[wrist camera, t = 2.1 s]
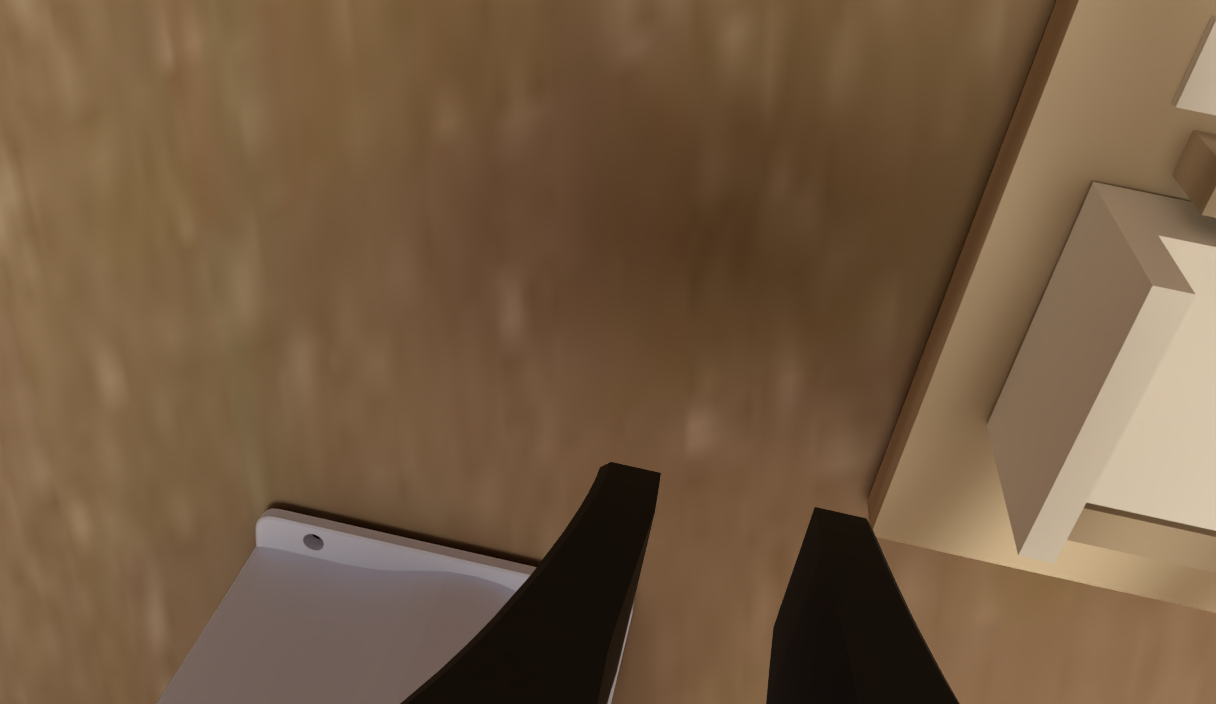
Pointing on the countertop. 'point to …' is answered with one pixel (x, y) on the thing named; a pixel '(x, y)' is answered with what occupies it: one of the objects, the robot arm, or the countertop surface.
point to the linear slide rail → (1021, 270)
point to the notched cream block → (1115, 375)
